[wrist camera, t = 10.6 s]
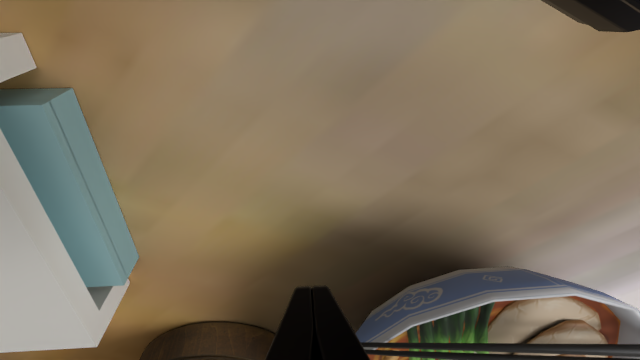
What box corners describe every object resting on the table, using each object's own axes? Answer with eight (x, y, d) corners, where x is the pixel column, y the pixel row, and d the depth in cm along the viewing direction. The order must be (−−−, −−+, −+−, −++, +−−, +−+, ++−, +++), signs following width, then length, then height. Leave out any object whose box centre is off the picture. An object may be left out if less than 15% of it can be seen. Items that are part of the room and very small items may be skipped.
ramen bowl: (284, 376, 33) (282, 482, 27) (328, 186, 22) (346, 290, 15) (509, 381, 37) (557, 476, 30) (651, 223, 25) (784, 319, 19)
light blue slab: (72, 88, 17) (41, 105, 15) (139, 256, 24) (124, 285, 22) (-139, 91, 17) (-202, 109, 15) (-12, 263, 23) (-42, 293, 21)
